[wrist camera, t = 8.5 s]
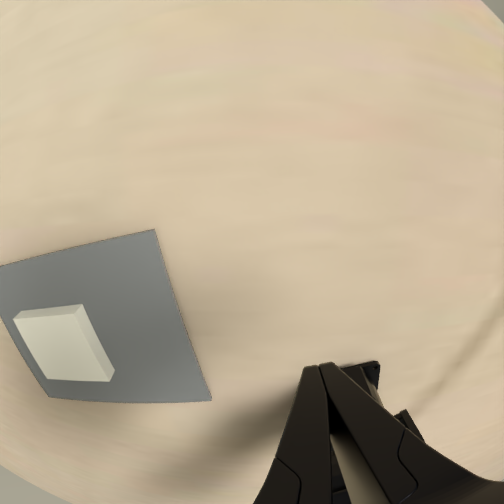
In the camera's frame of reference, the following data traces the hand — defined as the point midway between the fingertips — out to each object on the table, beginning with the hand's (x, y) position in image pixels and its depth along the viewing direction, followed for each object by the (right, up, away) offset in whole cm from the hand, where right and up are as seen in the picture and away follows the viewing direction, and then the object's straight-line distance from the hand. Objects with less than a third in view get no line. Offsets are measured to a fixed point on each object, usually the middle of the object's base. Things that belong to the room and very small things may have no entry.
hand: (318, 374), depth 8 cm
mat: (-17, -4, +15) cm, 23 cm away
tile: (-15, -4, +14) cm, 20 cm away
